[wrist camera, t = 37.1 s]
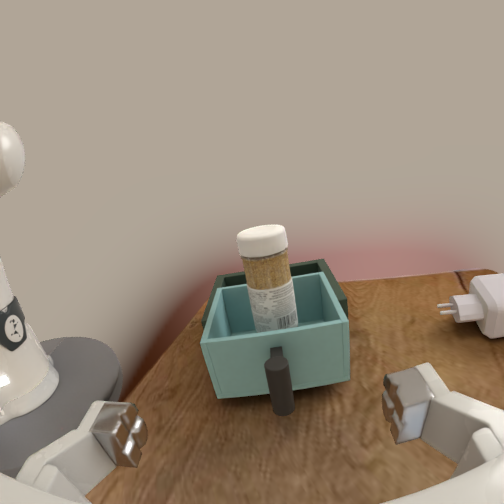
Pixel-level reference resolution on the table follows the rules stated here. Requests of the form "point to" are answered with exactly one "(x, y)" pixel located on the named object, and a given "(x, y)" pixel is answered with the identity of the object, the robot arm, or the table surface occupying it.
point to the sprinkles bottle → (268, 277)
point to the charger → (481, 305)
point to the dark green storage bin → (295, 271)
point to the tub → (277, 345)
